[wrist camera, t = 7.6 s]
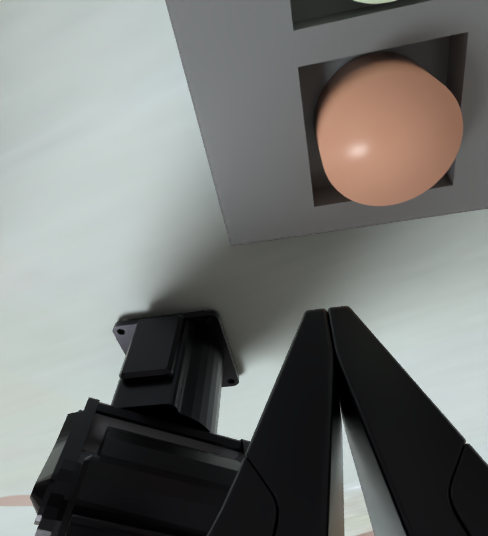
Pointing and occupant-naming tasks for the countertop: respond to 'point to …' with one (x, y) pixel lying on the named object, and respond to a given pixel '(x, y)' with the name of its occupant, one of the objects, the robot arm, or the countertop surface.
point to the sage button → (374, 1)
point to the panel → (306, 96)
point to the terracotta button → (386, 129)
